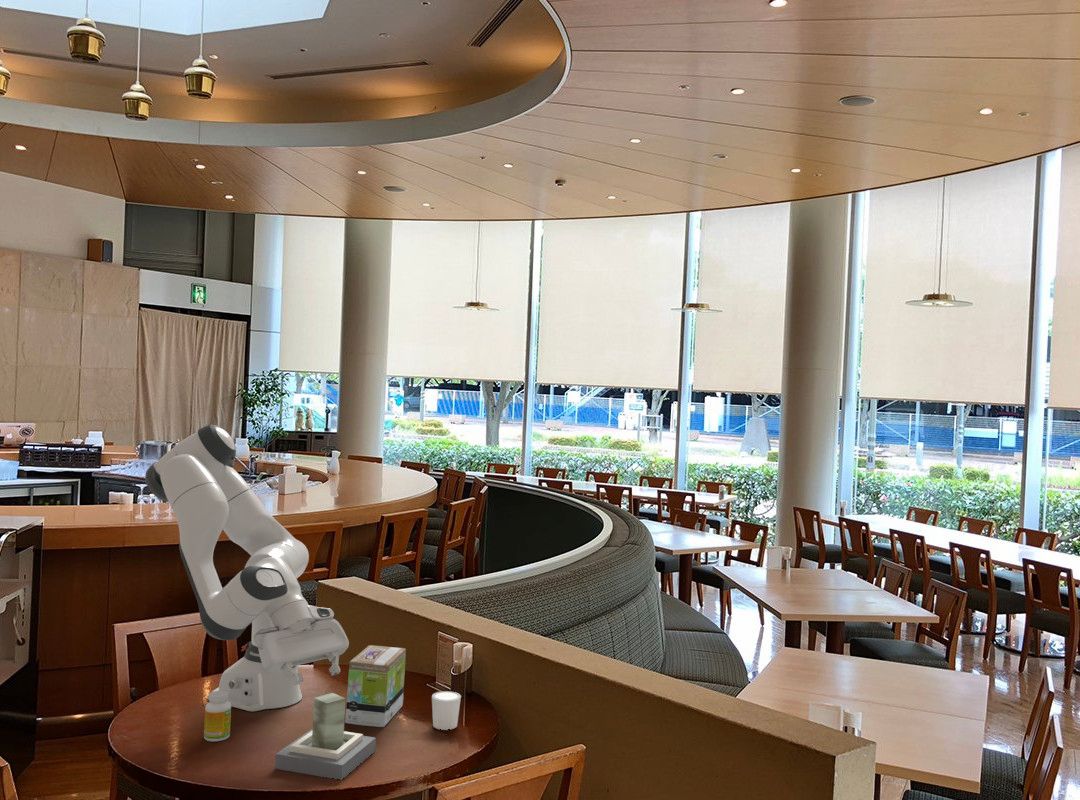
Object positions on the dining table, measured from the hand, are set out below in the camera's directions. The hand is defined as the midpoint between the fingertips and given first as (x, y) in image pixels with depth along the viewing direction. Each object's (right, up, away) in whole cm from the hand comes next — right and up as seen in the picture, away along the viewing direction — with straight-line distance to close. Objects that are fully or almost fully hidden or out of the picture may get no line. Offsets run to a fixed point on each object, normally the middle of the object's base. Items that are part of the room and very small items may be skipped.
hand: (318, 678), depth 185 cm
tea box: (+8, -16, +23) cm, 30 cm away
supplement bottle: (-24, -15, +6) cm, 29 cm away
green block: (+3, -13, -3) cm, 14 cm away
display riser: (+3, -16, -3) cm, 17 cm away
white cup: (+25, -17, +19) cm, 36 cm away
